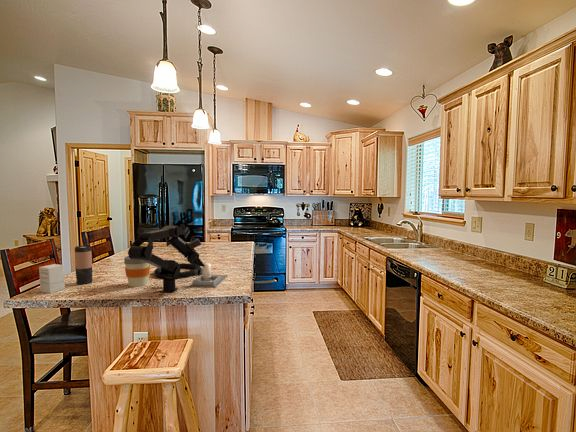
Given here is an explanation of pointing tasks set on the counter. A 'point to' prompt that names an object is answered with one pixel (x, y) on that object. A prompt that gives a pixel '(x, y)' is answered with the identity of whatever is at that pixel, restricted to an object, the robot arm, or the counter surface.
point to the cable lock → (196, 271)
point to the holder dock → (216, 281)
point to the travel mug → (83, 264)
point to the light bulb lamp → (207, 272)
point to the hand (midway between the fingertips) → (202, 264)
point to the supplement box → (51, 278)
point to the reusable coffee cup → (136, 272)
